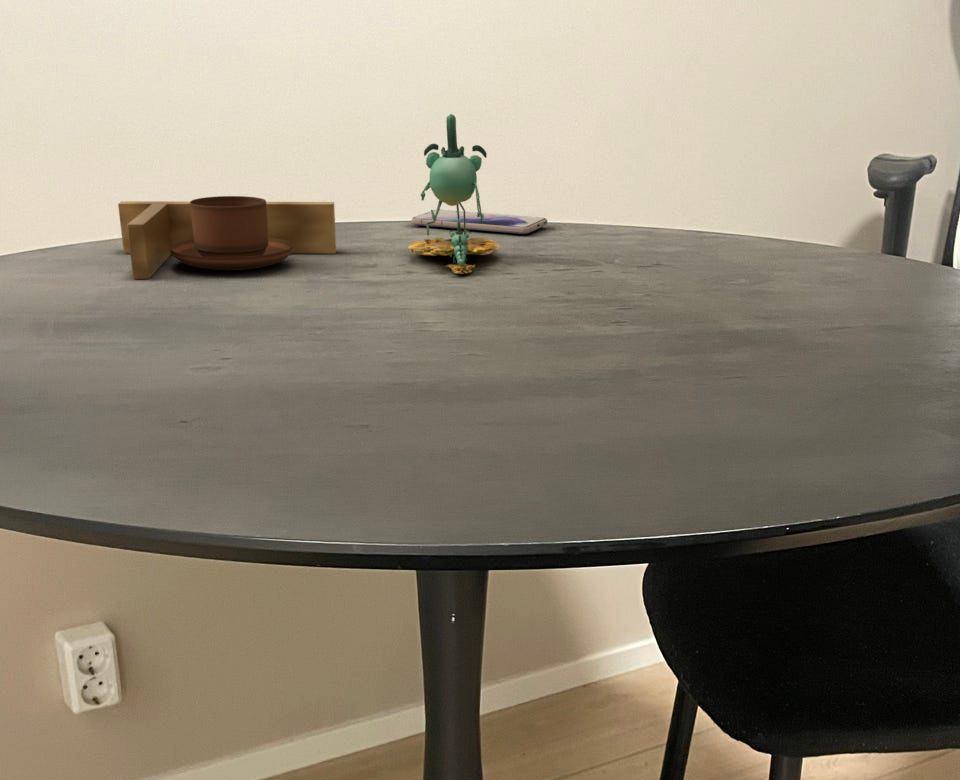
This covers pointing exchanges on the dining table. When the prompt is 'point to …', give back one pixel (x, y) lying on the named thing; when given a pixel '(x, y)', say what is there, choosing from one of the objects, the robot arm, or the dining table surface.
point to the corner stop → (170, 222)
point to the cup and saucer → (230, 235)
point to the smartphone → (488, 224)
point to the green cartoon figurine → (453, 200)
